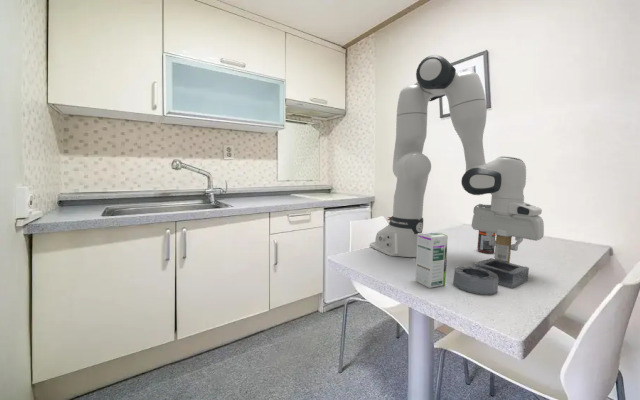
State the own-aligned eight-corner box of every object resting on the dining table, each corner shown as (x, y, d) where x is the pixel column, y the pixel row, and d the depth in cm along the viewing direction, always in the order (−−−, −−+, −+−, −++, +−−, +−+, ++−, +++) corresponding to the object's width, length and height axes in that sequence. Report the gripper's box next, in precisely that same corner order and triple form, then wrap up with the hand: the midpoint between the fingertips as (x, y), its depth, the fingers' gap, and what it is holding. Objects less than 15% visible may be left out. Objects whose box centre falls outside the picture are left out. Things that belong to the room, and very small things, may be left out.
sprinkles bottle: (511, 269, 91) (515, 229, 90) (505, 272, 89) (509, 231, 87) (496, 265, 95) (500, 227, 94) (490, 267, 93) (493, 228, 91)
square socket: (473, 276, 84) (474, 263, 84) (490, 270, 90) (491, 258, 90) (512, 288, 76) (513, 274, 75) (527, 280, 82) (529, 267, 81)
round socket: (446, 283, 78) (447, 270, 78) (465, 276, 84) (466, 264, 84) (484, 298, 69) (486, 283, 69) (503, 289, 75) (505, 275, 75)
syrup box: (430, 288, 75) (433, 236, 73) (414, 280, 80) (417, 232, 78) (445, 285, 77) (448, 235, 75) (429, 278, 82) (432, 230, 81)
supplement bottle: (477, 248, 116) (480, 222, 115) (494, 251, 113) (496, 224, 112) (476, 252, 111) (478, 224, 110) (493, 254, 108) (496, 226, 107)
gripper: (469, 203, 97) (466, 242, 98) (540, 211, 80) (535, 257, 81) (478, 202, 100) (475, 239, 102) (548, 209, 83) (543, 254, 85)
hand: (502, 247), depth 91 cm, fingers open, 5 cm apart
